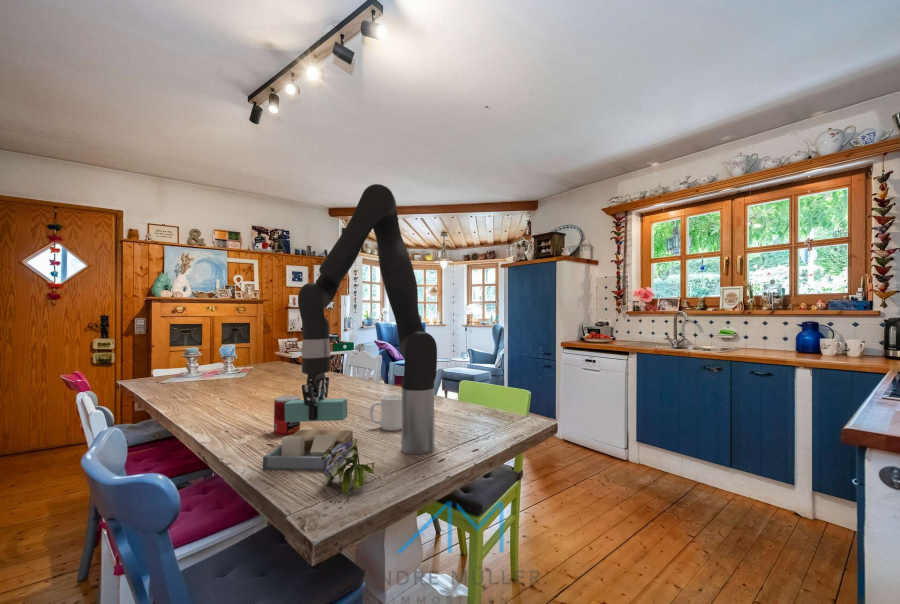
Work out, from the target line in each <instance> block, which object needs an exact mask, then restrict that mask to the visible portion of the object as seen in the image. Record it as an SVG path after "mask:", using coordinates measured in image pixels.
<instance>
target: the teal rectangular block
mask: <svg viewBox="0 0 900 604" xmlns="http://www.w3.org/2000/svg"><path fill="white" fill-rule="evenodd" d="M284 405H285V422H300V423H301V422H328V421H329V422H330V421H331V422H333V421H335V422H337V421H344V420H345V419H346V418H347V417H348V416H349V415H348V398H325V399H318V405H317V406H318V418H317V419H316V420H309V406H307V405H304V399H300V400H291V401H289V402H287V403H285V404H284Z"/></svg>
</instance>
